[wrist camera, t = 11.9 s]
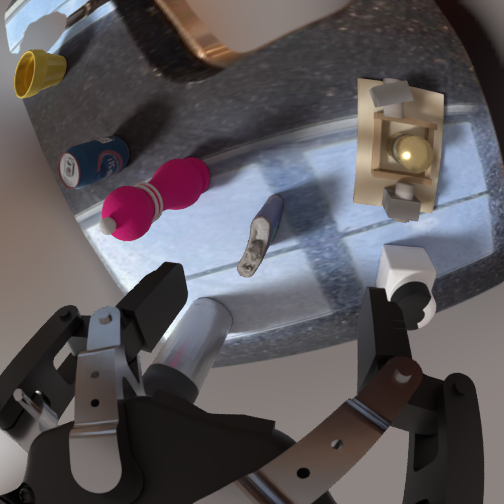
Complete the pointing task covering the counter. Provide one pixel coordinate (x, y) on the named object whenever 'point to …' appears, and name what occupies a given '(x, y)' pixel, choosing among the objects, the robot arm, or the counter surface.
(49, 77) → the plant pot
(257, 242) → the flask
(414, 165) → the cylinder
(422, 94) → the wooden board with frame
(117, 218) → the pepper mill
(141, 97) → the counter surface
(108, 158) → the soda can
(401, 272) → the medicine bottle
